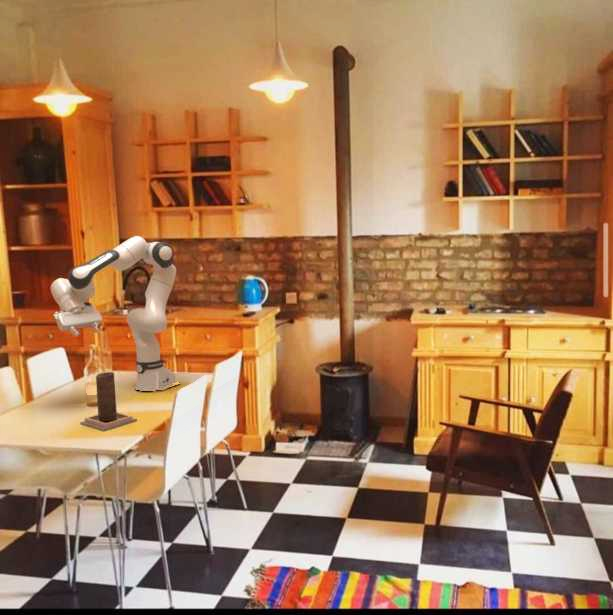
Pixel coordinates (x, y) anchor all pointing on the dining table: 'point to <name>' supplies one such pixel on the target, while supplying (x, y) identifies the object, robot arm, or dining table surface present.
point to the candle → (106, 396)
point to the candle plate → (108, 422)
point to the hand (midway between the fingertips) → (87, 333)
